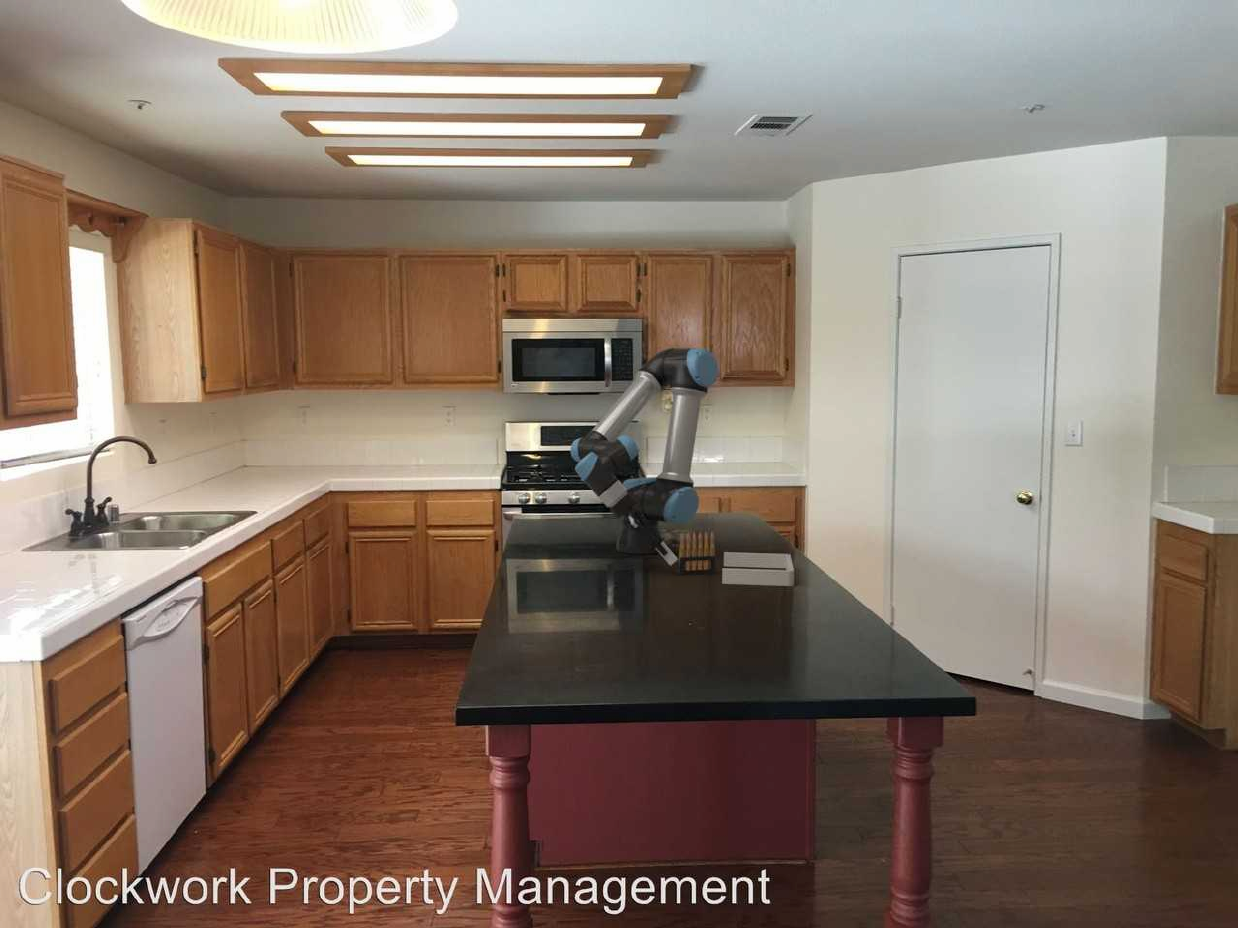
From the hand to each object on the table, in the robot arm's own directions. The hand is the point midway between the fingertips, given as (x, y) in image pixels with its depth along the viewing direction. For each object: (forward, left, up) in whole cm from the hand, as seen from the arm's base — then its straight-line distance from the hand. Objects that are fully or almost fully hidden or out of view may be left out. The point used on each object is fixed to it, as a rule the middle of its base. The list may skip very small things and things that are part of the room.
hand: (674, 562), depth 261 cm
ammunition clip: (-2, +6, -4) cm, 7 cm away
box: (-2, +23, -4) cm, 23 cm away
